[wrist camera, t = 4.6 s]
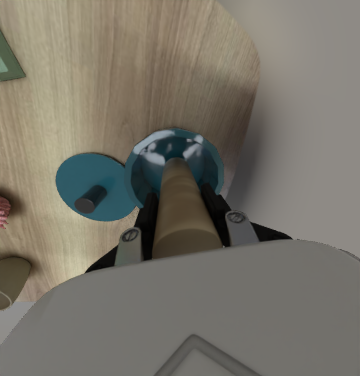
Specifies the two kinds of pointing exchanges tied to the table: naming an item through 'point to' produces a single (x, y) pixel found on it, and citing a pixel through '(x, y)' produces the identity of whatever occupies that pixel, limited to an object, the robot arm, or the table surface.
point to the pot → (163, 151)
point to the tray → (8, 62)
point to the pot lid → (94, 187)
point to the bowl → (12, 280)
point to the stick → (182, 215)
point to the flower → (4, 211)
